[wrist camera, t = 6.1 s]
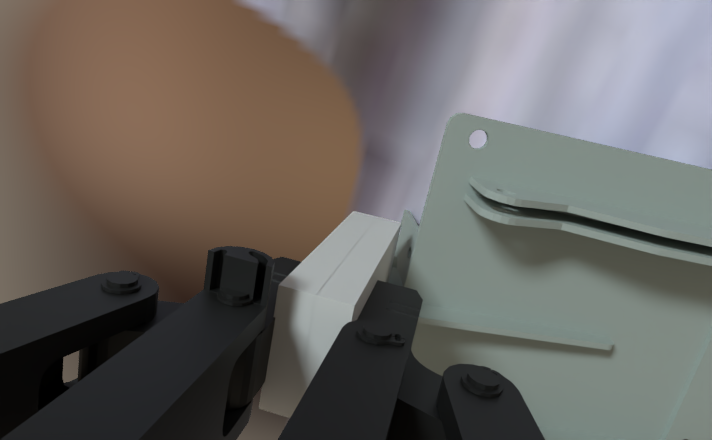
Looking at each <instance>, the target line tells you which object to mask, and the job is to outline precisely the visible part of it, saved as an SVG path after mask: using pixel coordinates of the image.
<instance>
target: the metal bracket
mask: <svg viewBox="0 0 712 440" xmlns="http://www.w3.org/2000/svg"><path fill="white" fill-rule="evenodd" d="M476 130H483V131H485V133H486V135H487V141H486V143H485V145H484V146H482V147H481V148H476V149H474V148H472V147H471V145H470V144H469V137H470V135H471V134H472V132H474V131H476ZM388 283H391V284H395V285H398V286H402V287H406V288H410V289H414V290H417V292H418V293H419V295H420V296H421V298H422V299H423V302H422V306H421V310H420V314H419V318H418V323H417V327H416V331H415V335H414V339H413V343H412V347H411V351H412V353H413V355H414V357H415V358H416V359H417V360H418V361H419V362H420V363H421V364H422V365H423V366H425V367H426V368H428V369H429V370H431V371H433V372H435V373H437V374H439V375H441V376H443V373H444V371H445V370H446V369H447V368H448V367H449V366H452V365H456V364H474V365H477V366H485V367H488V368H491V370H495V371H497V372H499V373H500V374H501V375H503V376H504V377H505V378H507V379H508V380H510V381H511V382H512V383H513V384H514V385H515V386H516V388H517V389H518V390H519V391H520V393H521V395H522V397H523V399H524V401H525V403H526V405H527V406H528V408H529V410H530V412H531V414H532V416H533V418H534V420H535V421H536V423H537V425H538V427H539V429H540V431H541V433H542V435H543V437H544V438H545V440H684V439H686V440H712V170H711V169H707V168H702V167H698V166H694V165H689V164H685V163H680V162H676V161H672V160H667V159H663V158H659V157H654V156H650V155H645V154H641V153H637V152H632V151H628V150H623V149H619V148H615V147H610V146H606V145H602V144H597V143H593V142H588V141H584V140H580V139H575V138H571V137H567V136H562V135H558V134H553V133H549V132H545V131H540V130H536V129H532V128H527V127H523V126H518V125H514V124H510V123H505V122H501V121H496V120H492V119H488V118H483V117H479V116H475V115H470V114H466V113H456V114H455V115H453V116H452V117H450V119H449V121H448V122H447V125H446V129H445V132H444V136H443V140H442V143H441V147H440V151H439V155H438V158H437V162H436V166H435V169H434V173H433V177H432V180H431V184H430V188H429V192H428V195H427V199H426V203H425V206H424V210H423V214H422V217H421V221H420V225H419V226H418V224H417V223H416V221H415V219H414V217H413V216H412V214H411V212H410V211H408V210H404V214H403V218H402V222H401V232H400V235H399V237H398V242H397V246H396V251H395V255H394V260H393V264H392V269H391V273H390V278H389V282H388Z"/></svg>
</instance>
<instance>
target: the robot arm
mask: <svg viewBox="0 0 712 440" xmlns="http://www.w3.org/2000/svg"><path fill="white" fill-rule="evenodd" d="M400 228H401V222H397V221H393V220H389V219H385V218H380V217H376V216H372V215H368V214H364V213H360V212H355V211H353V212H352V213H351V214H350V215H349V216H348V217H347V218H346V219H345V220H344V221H343V222H342V223H341V224H340V225H339V226H338V227H337V228H336V229H335V230H334V231H333V232H332V233H331V234H330V235H329V236H328V237H327V238H326V239H325V240H324V241H323V242H322V243H321V244H320V245H319V246H318V247H317V248H316V249H315V250H314V251H313V252H311V254H310V255H308V256H307V257H306V258H305V259H304V260H303V261H302V262H300V261H296V260H292V259H288V258H284V257H280V258H276V259H272V257H270V256H268V255H267V254H265V253H263V252H260V251H257V250H254V249H250V248H244V247H232V246H226V247H217V248H214V249H211V250H208V259H207V266H206V275H205V283H204V290H202V291H201V292H200V293H198V294H197V295H195V296H194V297H193V298H191V299H190V300H189V301H187V302H186V303H175V302H166V301H158V292H159V286H158V284H157V282H156V281H155V280H153V279H151V278H150V277H147V276H144V275H141V274H139V273H137V272H130V271H119V272H109V273H104V274H99V275H95V276H92V277H88V278H85V279H81V280H78V281H75V282H71V283H68V284H65V285H62V286H58V287H55V288H51V289H48V290H45V291H41V292H38V293H35V294H31V295H28V296H25V297H21V298H18V299H15V300H12V301H8V302H5V303H2V304H0V440H236V439H237V438H238V436H239V435H240V434H241V432H242V431H243V429H244V428H245V426H246V425H247V423H248V421H249V418H250V415H251V410H252V403H253V398H254V396H255V395H256V393H257V392H258V391H259V389H260V388H261V387H262V390H261V397H260V403H259V409H262V410H266V411H269V412H272V413H275V414H279V415H282V416H285V417H288V418H290V419H289V421H288V423H287V425H286V426H285V428H284V430H283V431H282V433H281V435H280V437H279V438H278V440H545V438H544V437H543V435H542V433H541V431H540V429H539V427H538V425H537V423H536V421H535V420H534V418H533V416H532V414H531V412H530V410H529V408H528V406H527V405H526V403H525V401H524V399H523V397H522V395H521V393H520V391H519V390H518V389H517V388H516V386H515V385H514V384H513V383H512V382H511V381H510V380H508V379H507V378H505V377H504V376H503V375H501V374H500V373H499V372H497V371H495V370H491V368H488V367H485V366H477V365H474V364H456V365H452V366H449V367H448V368H447V369H446V370H445V371H444V373H443V376H441V375H439V374H437V373H435V372H433V371H431V370H429V369H428V368H426V367H425V366H423V365H422V364H421V363H420V362H419V361H418V360H417V359H416V358H415V357H414V355H413V353H412V351H411V347H412V343H413V339H414V335H415V331H416V327H417V323H418V318H419V314H420V310H421V306H422V302H423V299H422V298H421V296H420V295H419V293H418V292H417V290H414V289H410V288H406V287H402V286H398V285H395V284H391V283H388V282H389V278H390V273H391V269H392V264H393V260H394V255H395V251H396V246H397V242H398V237H399V232H400ZM76 351H79V367H78V378H77V379H75V380H72V381H70V382H66V383H63V380H62V371H63V357H64V356H67V355H69V354H71V353H74V352H76Z"/></svg>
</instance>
